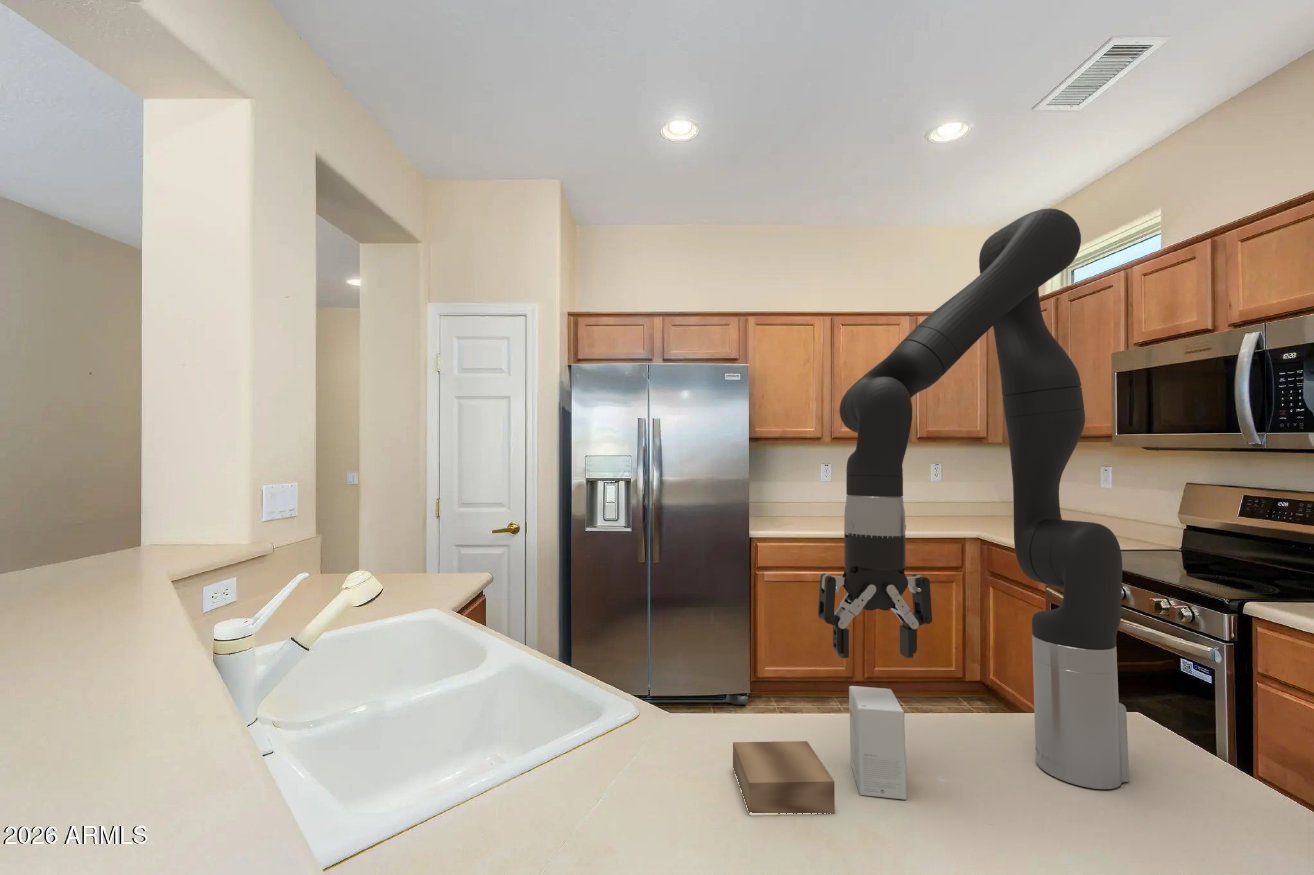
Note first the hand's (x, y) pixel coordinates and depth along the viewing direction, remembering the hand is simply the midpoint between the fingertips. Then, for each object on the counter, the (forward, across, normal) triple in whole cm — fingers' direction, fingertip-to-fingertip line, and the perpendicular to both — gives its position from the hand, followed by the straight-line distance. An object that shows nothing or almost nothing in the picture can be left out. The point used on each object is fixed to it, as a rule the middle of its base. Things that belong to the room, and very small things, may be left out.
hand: (874, 656), depth 74 cm
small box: (+16, 0, 0) cm, 16 cm away
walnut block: (+16, +13, +1) cm, 21 cm away
